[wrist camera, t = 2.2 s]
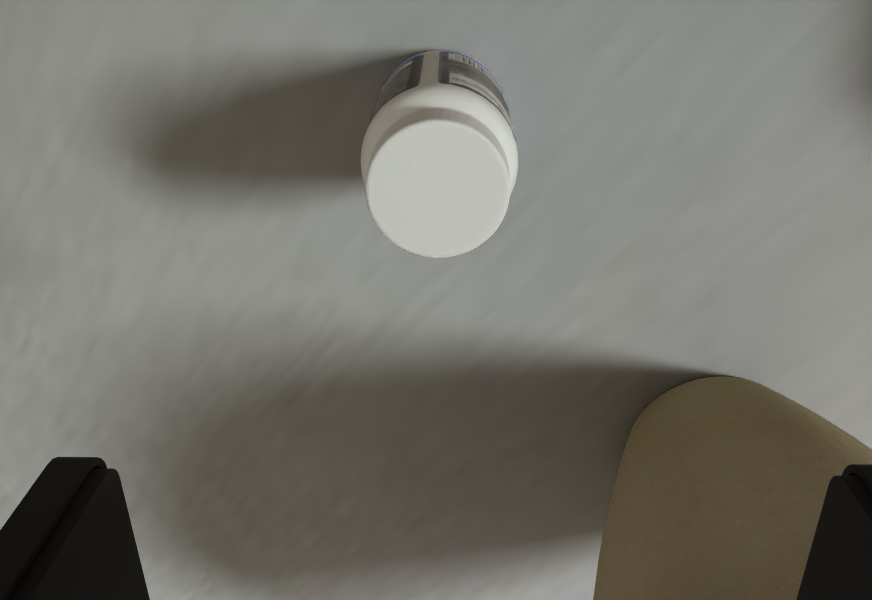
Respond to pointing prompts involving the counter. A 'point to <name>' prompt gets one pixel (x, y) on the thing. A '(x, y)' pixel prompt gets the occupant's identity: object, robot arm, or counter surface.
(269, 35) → the counter surface
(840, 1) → the counter surface
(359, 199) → the counter surface
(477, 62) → the pill bottle
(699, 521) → the plant pot
